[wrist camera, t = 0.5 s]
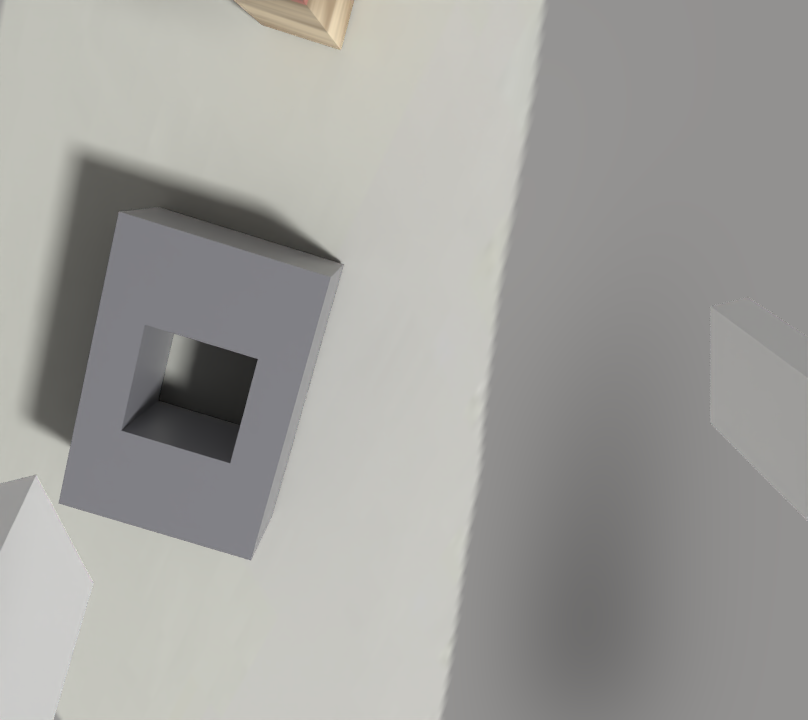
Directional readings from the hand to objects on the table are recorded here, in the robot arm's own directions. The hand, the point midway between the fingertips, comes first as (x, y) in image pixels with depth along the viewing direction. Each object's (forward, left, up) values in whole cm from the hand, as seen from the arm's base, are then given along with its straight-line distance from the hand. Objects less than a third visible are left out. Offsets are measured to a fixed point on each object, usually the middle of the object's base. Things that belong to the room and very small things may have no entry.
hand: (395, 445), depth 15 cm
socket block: (+8, -9, -25) cm, 28 cm away
